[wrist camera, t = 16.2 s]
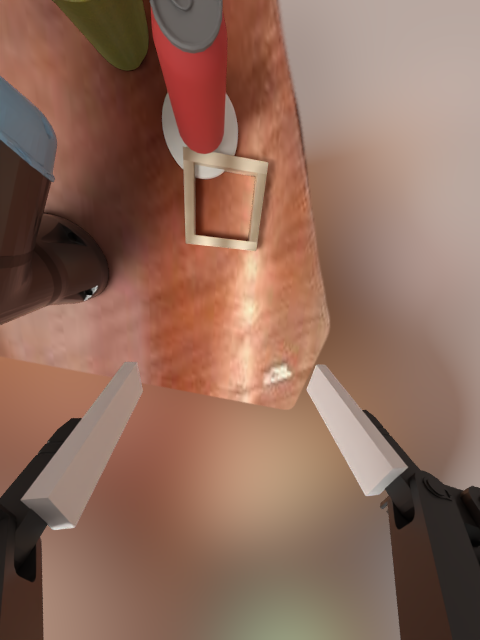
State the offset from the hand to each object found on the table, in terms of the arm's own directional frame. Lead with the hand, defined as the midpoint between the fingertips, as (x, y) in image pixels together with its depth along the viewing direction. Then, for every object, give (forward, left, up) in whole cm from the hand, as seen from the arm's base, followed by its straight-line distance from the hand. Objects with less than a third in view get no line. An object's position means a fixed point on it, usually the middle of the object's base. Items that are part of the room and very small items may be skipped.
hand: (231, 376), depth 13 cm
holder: (-1, +14, -27) cm, 30 cm away
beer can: (-5, +23, -25) cm, 35 cm away
